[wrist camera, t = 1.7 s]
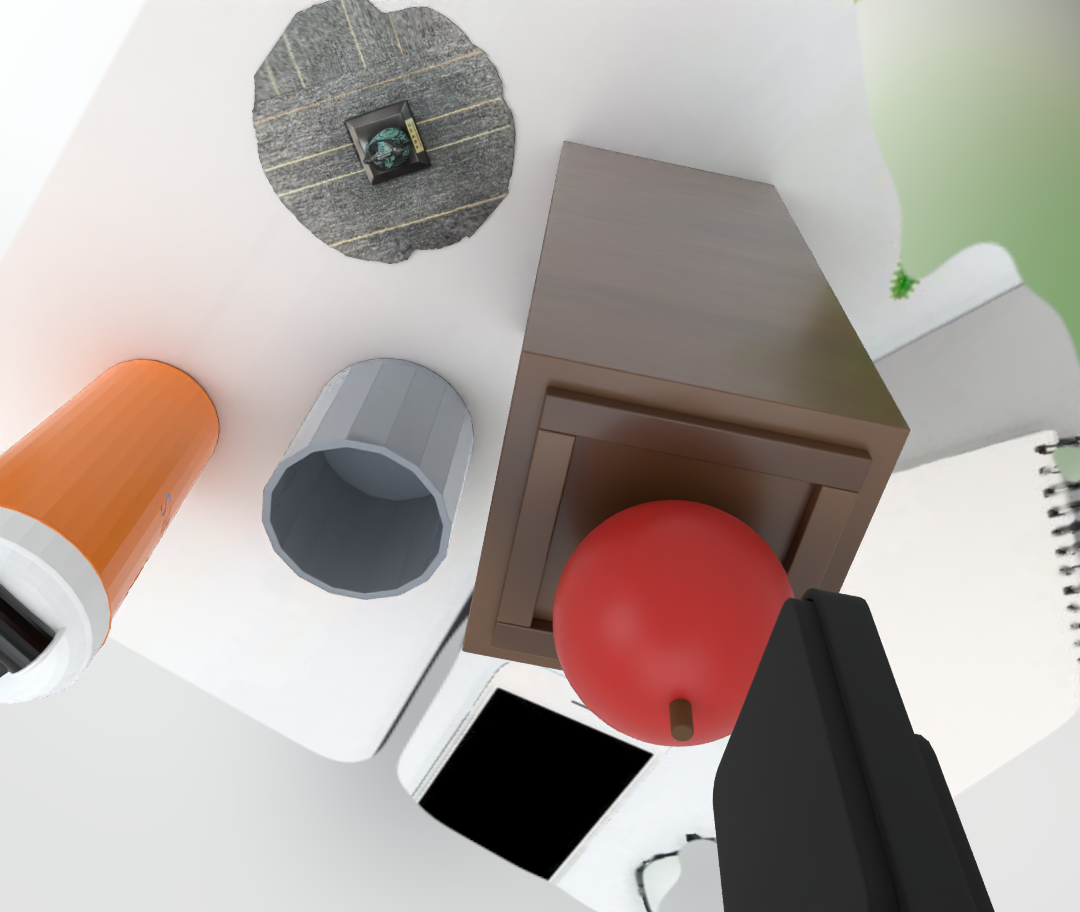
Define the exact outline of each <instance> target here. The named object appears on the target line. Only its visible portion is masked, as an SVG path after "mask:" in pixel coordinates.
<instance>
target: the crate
mask: <svg viewBox="0 0 1080 912" xmlns="http://www.w3.org/2000/svg"><path fill="white" fill-rule="evenodd" d="M909 432H910V428H909V426H908V425H907V423H906V421H905V419H904V417H903V416H902V414H901V412H900V410H899V408H898V407H897V405H896V403H895V401H894V400H893V398H892V396H891V394H890V392H889V391H888V389H887V387H886V385H885V383H884V382H883V380H882V378H881V376H880V375H879V373H878V371H877V369H876V367H875V366H874V364H873V362H872V360H871V358H870V357H869V355H868V353H867V351H866V349H865V348H864V346H863V344H862V342H861V341H860V339H859V337H858V335H857V333H856V332H855V330H854V328H853V326H852V324H851V323H850V321H849V319H848V317H847V316H846V314H845V312H844V310H843V308H842V307H841V305H840V303H839V301H838V299H837V298H836V296H835V294H834V292H833V291H832V289H831V287H830V285H829V283H828V282H827V280H826V278H825V276H824V274H823V273H822V271H821V269H820V267H819V265H818V264H817V262H816V260H815V258H814V257H813V255H812V253H811V251H810V249H809V248H808V246H807V244H806V242H805V240H804V239H803V237H802V235H801V233H800V232H799V230H798V228H797V226H796V224H795V223H794V221H793V219H792V217H791V215H790V214H789V212H788V210H787V208H786V206H785V205H784V203H783V201H782V199H781V198H780V196H779V194H778V192H777V190H776V189H775V187H774V186H773V185H769V184H764V183H759V182H755V181H750V180H745V179H741V178H736V177H731V176H726V175H722V174H717V173H712V172H707V171H703V170H698V169H693V168H689V167H684V166H679V165H674V164H670V163H665V162H660V161H656V160H651V159H646V158H641V157H637V156H632V155H627V154H622V153H618V152H613V151H608V150H604V149H599V148H594V147H589V146H585V145H580V144H575V143H571V142H566V141H564V142H563V146H562V151H561V156H560V161H559V166H558V171H557V176H556V181H555V186H554V191H553V196H552V201H551V206H550V211H549V216H548V221H547V226H546V231H545V236H544V241H543V246H542V251H541V256H540V261H539V266H538V271H537V276H536V281H535V286H534V291H533V296H532V301H531V306H530V311H529V316H528V320H527V325H526V330H525V335H524V340H523V345H522V350H521V355H520V360H519V365H518V371H517V376H516V381H515V386H514V391H513V396H512V401H511V406H510V411H509V416H508V421H507V426H506V431H505V436H504V441H503V446H502V451H501V456H500V461H499V466H498V471H497V476H496V481H495V487H494V492H493V497H492V502H491V507H490V512H489V517H488V522H487V527H486V532H485V537H484V542H483V547H482V552H481V557H480V562H479V567H478V572H477V577H476V582H475V587H474V592H473V597H472V603H471V608H470V613H469V618H468V623H467V628H466V633H465V638H464V643H463V648H462V650H463V651H464V652H469V653H474V654H479V655H484V656H490V657H495V658H500V659H505V660H511V661H516V662H521V663H527V664H532V665H537V666H542V667H548V668H553V669H558V670H563V669H562V667H561V664H560V661H559V658H558V655H557V651H556V647H555V641H554V636H553V606H554V600H555V594H556V589H557V586H558V583H559V580H560V577H561V574H562V572H563V570H564V568H565V566H566V564H567V562H568V560H569V558H570V556H571V555H572V554H573V552H574V551H575V550H576V548H577V547H578V545H579V544H580V543H581V541H582V540H583V539H584V538H585V537H586V536H587V535H588V534H589V533H590V532H591V531H592V530H593V529H595V528H596V527H597V526H598V525H600V524H601V523H602V522H604V521H605V520H606V519H608V518H610V517H611V516H613V515H615V514H616V513H618V512H621V511H623V510H625V509H627V508H630V507H633V506H636V505H639V504H642V503H648V502H653V501H661V500H685V501H692V502H698V503H702V504H706V505H710V506H712V507H715V508H718V509H720V510H723V511H725V512H726V513H728V514H730V515H732V516H734V517H736V518H738V519H740V520H741V521H742V522H744V523H745V524H747V525H748V526H749V527H751V528H752V529H753V530H754V531H755V532H756V533H757V534H758V535H759V536H760V537H761V538H762V539H763V540H764V541H765V542H766V543H767V544H768V545H769V547H770V548H771V549H772V550H773V552H774V553H775V555H776V556H777V558H778V559H779V561H780V562H781V564H782V566H783V568H784V570H785V571H786V574H787V576H788V579H789V582H790V584H791V587H792V590H793V593H794V597H795V599H800V600H801V598H802V596H803V594H804V593H805V592H806V591H807V590H808V589H810V588H815V589H820V590H825V591H830V592H836V593H839V591H840V589H841V587H842V585H843V582H844V580H845V578H846V576H847V573H848V571H849V569H850V566H851V564H852V562H853V560H854V557H855V555H856V553H857V551H858V548H859V546H860V544H861V541H862V539H863V537H864V535H865V532H866V530H867V528H868V526H869V523H870V521H871V519H872V516H873V514H874V512H875V510H876V507H877V505H878V503H879V501H880V498H881V496H882V494H883V491H884V489H885V487H886V485H887V482H888V480H889V478H890V476H891V473H892V471H893V469H894V466H895V464H896V462H897V460H898V457H899V455H900V453H901V451H902V448H903V446H904V444H905V441H906V439H907V437H908V435H909Z"/></svg>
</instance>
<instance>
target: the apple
mask: <svg viewBox="0 0 1080 912" xmlns="http://www.w3.org/2000/svg"><path fill="white" fill-rule="evenodd" d="M788 598H795V597H794V593H793V590H792V587H791V584H790V582H789V579H788V576H787V574H786V571H785V570H784V568H783V566H782V564H781V562H780V561H779V559H778V558H777V556H776V555H775V553H774V552H773V550H772V549H771V548H770V547H769V545H768V544H767V543H766V542H765V541H764V540H763V539H762V538H761V537H760V536H759V535H758V534H757V533H756V532H755V531H754V530H753V529H752V528H751V527H749V526H748V525H747V524H745V523H744V522H742V521H741V520H740V519H738V518H736V517H734V516H732V515H730V514H728V513H726V512H725V511H723V510H720V509H718V508H715V507H712V506H710V505H706V504H702V503H698V502H692V501H685V500H661V501H653V502H648V503H642V504H639V505H636V506H633V507H630V508H627V509H625V510H623V511H621V512H618V513H616V514H615V515H613V516H611V517H610V518H608V519H606V520H605V521H604V522H602V523H601V524H600V525H598V526H597V527H596V528H595V529H593V530H592V531H591V532H590V533H589V534H588V535H587V536H586V537H585V538H584V539H583V540H582V541H581V543H580V544H579V545H578V547H577V548H576V550H575V551H574V552H573V554H572V555H571V556H570V558H569V560H568V562H567V564H566V566H565V568H564V570H563V572H562V574H561V577H560V580H559V583H558V586H557V589H556V594H555V600H554V606H553V636H554V641H555V647H556V651H557V655H558V658H559V661H560V664H561V667H562V669H563V671H564V673H565V676H566V678H567V679H568V681H569V683H570V685H571V687H572V688H573V689H574V691H575V692H576V694H577V695H578V696H579V698H580V699H581V700H582V702H583V703H584V704H585V705H586V706H587V707H588V708H589V709H590V710H591V711H592V712H593V713H594V714H595V715H596V716H597V717H599V718H600V719H601V720H602V721H604V722H605V723H606V724H607V725H609V726H611V727H612V728H614V729H616V730H617V731H619V732H621V733H623V734H626V735H628V736H630V737H632V738H635V739H637V740H640V741H643V742H647V743H651V744H655V745H663V746H676V747H680V746H693V745H700V744H705V743H709V742H713V741H716V740H719V739H721V738H724V737H726V736H728V735H730V734H732V731H733V729H734V726H735V724H736V721H737V719H738V716H739V714H740V711H741V709H742V706H743V704H744V701H745V699H746V696H747V694H748V691H749V689H750V686H751V683H752V681H753V678H754V676H755V673H756V671H757V668H758V666H759V663H760V661H761V658H762V656H763V653H764V651H765V648H766V646H767V643H768V641H769V638H770V635H771V633H772V630H773V628H774V625H775V623H776V620H777V618H778V615H779V613H780V610H781V608H782V606H783V604H784V602H785V601H786V600H787V599H788Z"/></svg>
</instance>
